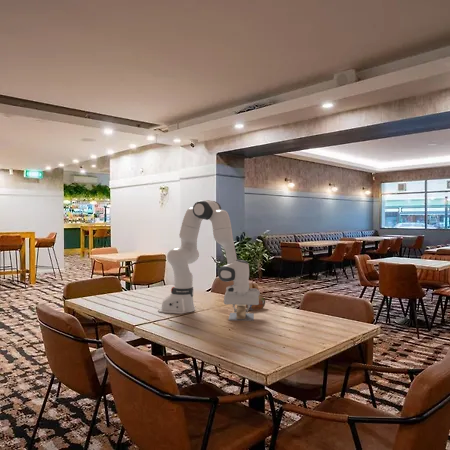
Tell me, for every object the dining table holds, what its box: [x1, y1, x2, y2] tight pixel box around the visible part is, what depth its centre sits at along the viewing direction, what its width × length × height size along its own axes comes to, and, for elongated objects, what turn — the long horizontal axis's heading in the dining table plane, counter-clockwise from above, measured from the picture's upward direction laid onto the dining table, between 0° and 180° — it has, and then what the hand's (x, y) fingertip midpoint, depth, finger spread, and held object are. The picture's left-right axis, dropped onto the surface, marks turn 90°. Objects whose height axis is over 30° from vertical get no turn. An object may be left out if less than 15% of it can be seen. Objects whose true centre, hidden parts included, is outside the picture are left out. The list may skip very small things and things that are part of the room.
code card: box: [228, 312, 255, 322], centre depth 231 cm, size 14×18×1 cm
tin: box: [246, 295, 266, 311], centre depth 251 cm, size 15×3×8 cm, turn 129°
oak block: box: [236, 305, 247, 319], centre depth 231 cm, size 5×12×6 cm, turn 176°
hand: (241, 312), depth 231 cm, fingers closed on oak block, 5 cm apart
